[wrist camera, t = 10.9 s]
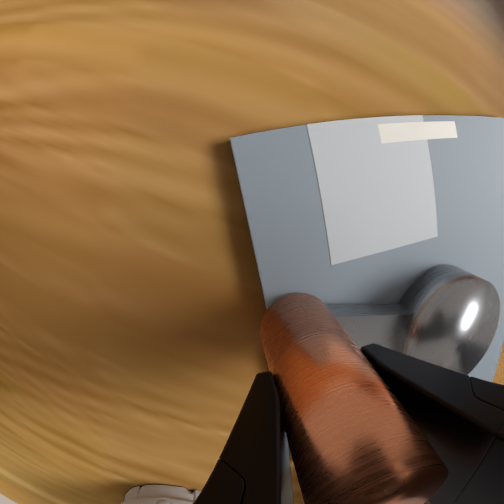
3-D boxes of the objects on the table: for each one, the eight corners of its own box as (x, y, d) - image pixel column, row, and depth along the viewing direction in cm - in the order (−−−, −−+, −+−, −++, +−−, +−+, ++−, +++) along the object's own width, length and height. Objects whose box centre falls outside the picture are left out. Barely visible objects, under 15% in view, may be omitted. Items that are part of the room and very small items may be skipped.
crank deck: (487, 377, 14) (492, 381, 14) (298, 460, 14) (300, 468, 13) (499, 118, 10) (508, 117, 10) (229, 139, 10) (230, 137, 9)
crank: (482, 265, 11) (605, 328, 4) (454, 359, 12) (544, 445, 5) (265, 257, 10) (364, 439, 3) (254, 381, 11) (289, 562, 4)
